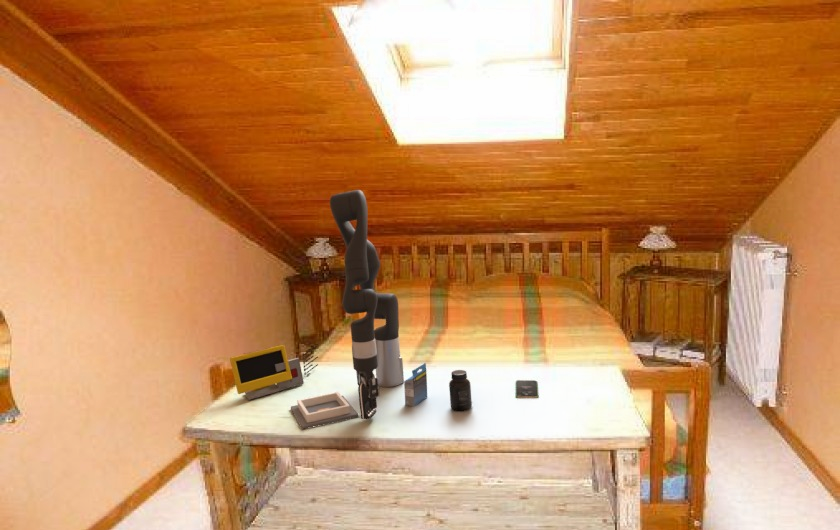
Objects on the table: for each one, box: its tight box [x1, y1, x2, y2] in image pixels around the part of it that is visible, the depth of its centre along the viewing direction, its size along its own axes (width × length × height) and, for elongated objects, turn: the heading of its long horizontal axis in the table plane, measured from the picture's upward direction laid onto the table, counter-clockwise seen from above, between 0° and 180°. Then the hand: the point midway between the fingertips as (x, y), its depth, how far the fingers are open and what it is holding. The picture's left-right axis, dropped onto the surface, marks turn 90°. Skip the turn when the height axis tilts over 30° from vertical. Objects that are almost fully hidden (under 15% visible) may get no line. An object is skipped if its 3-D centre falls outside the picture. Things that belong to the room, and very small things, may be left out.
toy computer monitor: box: [229, 344, 292, 401], centre depth 221 cm, size 20×8×16 cm, turn 127°
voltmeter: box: [275, 344, 319, 391], centre depth 233 cm, size 27×11×10 cm, turn 163°
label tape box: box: [403, 362, 428, 407], centre depth 205 cm, size 9×4×12 cm, turn 150°
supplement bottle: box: [448, 369, 473, 413], centre depth 197 cm, size 7×7×12 cm
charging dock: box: [290, 391, 360, 430], centre depth 200 cm, size 18×18×4 cm
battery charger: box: [357, 382, 377, 420], centre depth 191 cm, size 7×4×11 cm, turn 163°
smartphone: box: [514, 379, 540, 399], centre depth 209 cm, size 8×1×15 cm
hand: (369, 404), depth 191 cm, fingers closed on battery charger, 7 cm apart
